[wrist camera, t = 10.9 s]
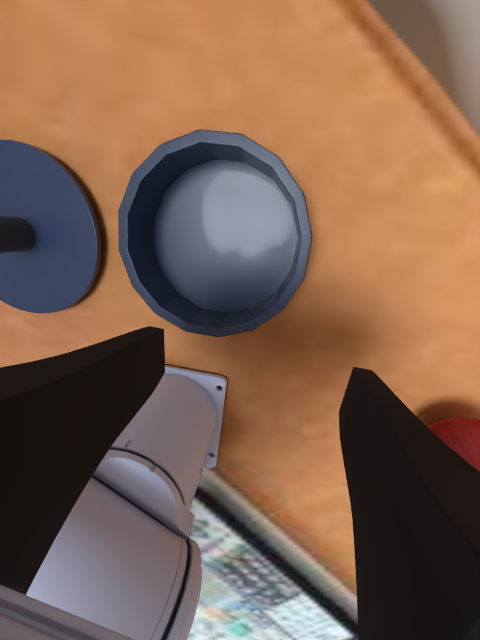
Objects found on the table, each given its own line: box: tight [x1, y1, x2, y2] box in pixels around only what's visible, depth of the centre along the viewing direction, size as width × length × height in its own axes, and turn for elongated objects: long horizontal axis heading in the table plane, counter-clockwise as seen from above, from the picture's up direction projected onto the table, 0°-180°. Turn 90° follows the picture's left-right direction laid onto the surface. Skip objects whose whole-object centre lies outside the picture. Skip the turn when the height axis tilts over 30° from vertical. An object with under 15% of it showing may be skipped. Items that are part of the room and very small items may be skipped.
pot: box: [118, 130, 312, 337], centre depth 18 cm, size 11×11×4 cm
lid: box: [0, 140, 101, 313], centre depth 19 cm, size 12×12×5 cm
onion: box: [428, 417, 480, 472], centre depth 18 cm, size 6×6×8 cm
